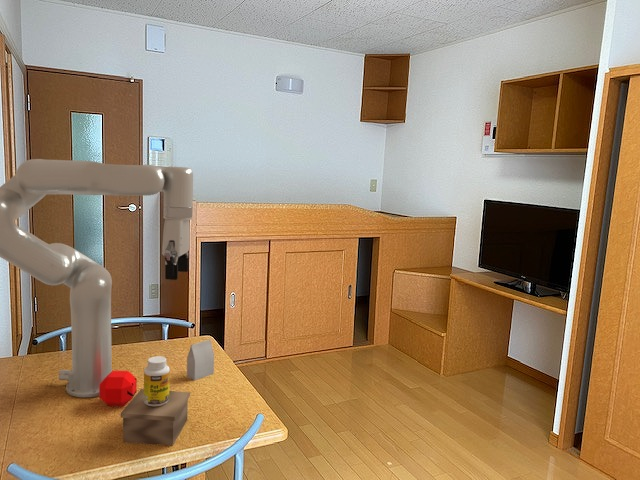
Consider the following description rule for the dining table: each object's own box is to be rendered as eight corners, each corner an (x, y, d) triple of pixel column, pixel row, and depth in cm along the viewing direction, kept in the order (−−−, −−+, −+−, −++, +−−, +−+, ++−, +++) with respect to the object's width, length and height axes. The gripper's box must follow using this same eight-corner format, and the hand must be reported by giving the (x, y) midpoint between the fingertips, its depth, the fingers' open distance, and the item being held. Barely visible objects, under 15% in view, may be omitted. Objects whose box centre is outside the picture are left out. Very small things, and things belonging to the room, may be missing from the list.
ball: (130, 410, 124) (130, 381, 123) (96, 409, 123) (96, 380, 122) (138, 395, 132) (138, 367, 131) (107, 394, 131) (107, 367, 130)
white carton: (213, 373, 148) (214, 341, 146) (194, 380, 142) (195, 347, 141) (205, 370, 150) (206, 337, 148) (186, 376, 145) (187, 343, 143)
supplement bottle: (147, 409, 111) (147, 366, 109) (140, 399, 115) (141, 357, 114) (172, 404, 114) (173, 361, 112) (165, 394, 118) (165, 353, 117)
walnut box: (120, 443, 110) (120, 413, 109) (140, 416, 121) (141, 388, 120) (174, 446, 110) (174, 416, 109) (189, 419, 121) (189, 392, 120)
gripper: (174, 209, 144) (173, 267, 146) (152, 215, 127) (152, 281, 129) (200, 211, 144) (199, 269, 146) (182, 217, 126) (181, 283, 129)
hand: (177, 275), depth 138 cm, fingers open, 9 cm apart
